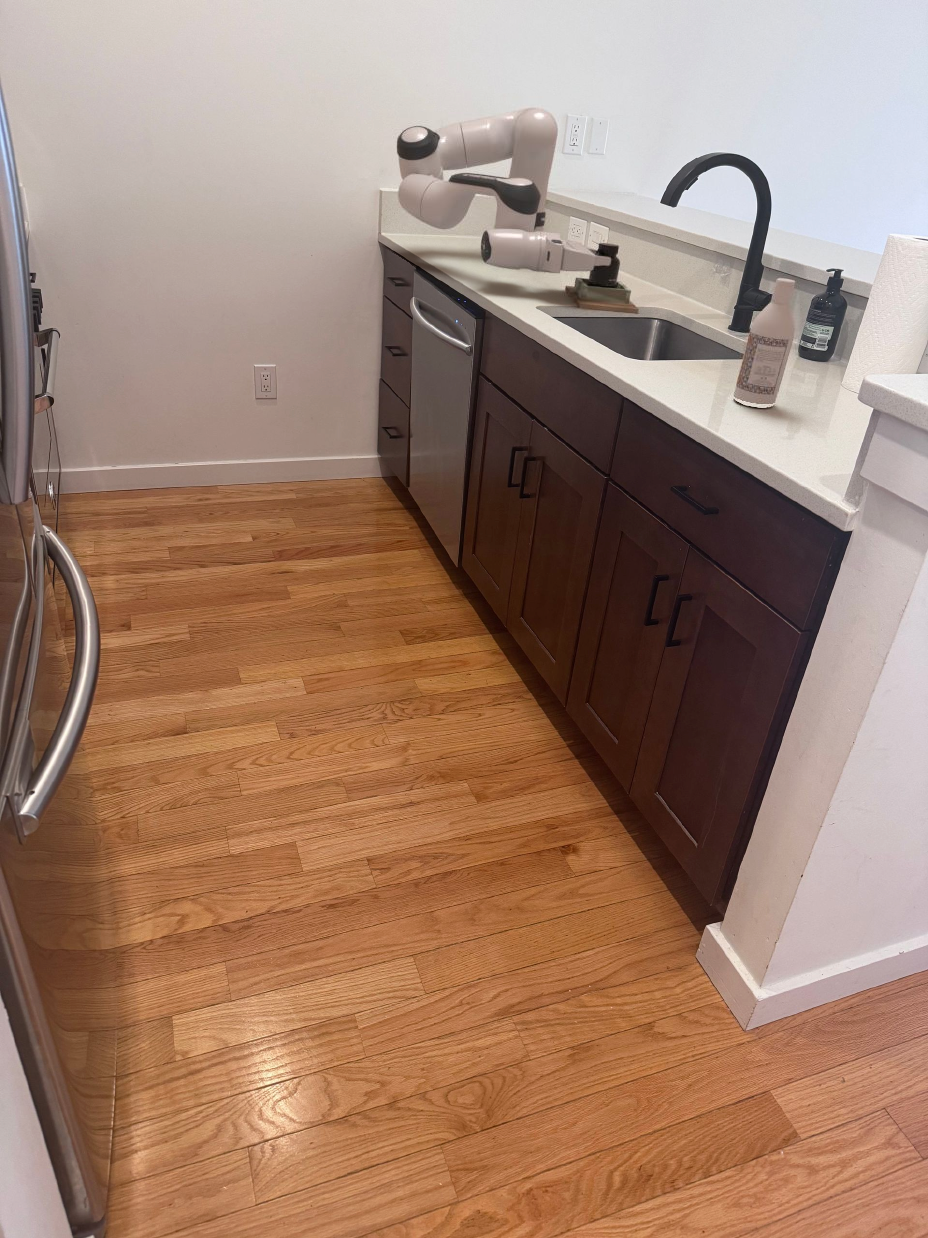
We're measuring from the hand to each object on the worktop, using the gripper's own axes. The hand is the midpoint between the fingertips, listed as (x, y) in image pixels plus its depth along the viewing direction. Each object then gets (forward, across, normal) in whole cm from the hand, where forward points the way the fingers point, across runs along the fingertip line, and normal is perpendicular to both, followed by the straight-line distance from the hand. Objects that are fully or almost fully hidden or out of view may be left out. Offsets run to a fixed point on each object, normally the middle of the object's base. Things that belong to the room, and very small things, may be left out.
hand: (606, 257), depth 210 cm
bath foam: (+11, +79, -10) cm, 80 cm away
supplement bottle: (0, 0, -9) cm, 9 cm away
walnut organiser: (0, 0, -10) cm, 10 cm away
